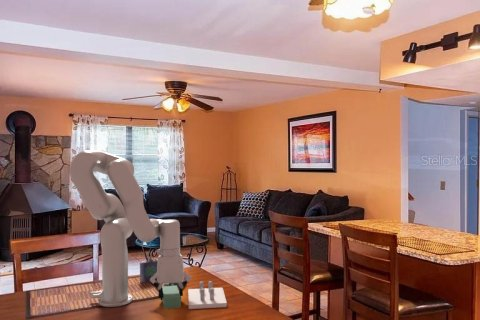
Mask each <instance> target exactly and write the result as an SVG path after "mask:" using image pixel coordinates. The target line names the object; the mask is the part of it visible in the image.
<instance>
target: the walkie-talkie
mask: <svg viewBox="0 0 480 320" xmlns="http://www.w3.org/2000/svg"><path fill="white" fill-rule="evenodd" d="M184 280H186V277H185V276H184ZM184 280H183V281H184ZM183 281H182V283H183ZM176 285H177V288H178V289H179V287H180V286H179V284H178V283H163V287H164V286H176ZM185 286H186V285H185ZM185 286H184V287H183V289H185Z"/></svg>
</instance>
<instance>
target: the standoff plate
mask: <svg viewBox="0 0 480 320" xmlns="http://www.w3.org/2000/svg"><path fill="white" fill-rule="evenodd" d="M198 283H199V288H188V291H187V293H188V294H187V295H188V296H187V297H188V310H192V309H196V310H197V309H212V308H214V309H216V308H227V307H228V306H227V305H228V302H227V299H226V296H225V292H224V288H223V287H213V280H212V281H211V280H210V281H208V288H206V287H205V288H204V281H199V282H198Z"/></svg>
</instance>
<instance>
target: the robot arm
mask: <svg viewBox="0 0 480 320" xmlns="http://www.w3.org/2000/svg"><path fill="white" fill-rule="evenodd" d="M95 172H97V173H101V174H104V175H107V177H108V179H109V181H110V183H111V184H112V186H113V188H114V190H115V191H116V193H117V195H118V197H119V198H118V197H117V196H116V195H115V194H113V193H106V191H105V189H104V188H103V185H102V184H101V182H100V180H98V178H97V177H96V176H95ZM134 173H135V167H134V164H133V163H132V162H131V161H130V160H128V159H126V158H123V157H120V156H117V155H113V154H111V153H108V152H105V151H102V150H96V149H95V150H94V149H85V150H81V151H80V152H78V153H77V154H76V155H74V157H73V158H72V161H71V163H70V165H69V175H70V176H69V177H70V179H71V181H72V184H73V185H74V187H75V188H76V190H77V192H78V193H79V195H80V198H81V200H82V201H83V203H84V205H85V207H86V208H87V210H88V212H89V214H90V215H91V216H92V218H93V219H95V220H98V221H102V220H103V221H104V224H103V226H102V227H101V230H100V233H99V239H100V241H99V242H100V246H101V263H102V264H101V273H102V274H101V277H102V279H101V281H102V282H101V283H102V289H100V290H99V291H95V290H94V291H90V297H91V298H93V299H98V301H97V303H98V305H99V306H102V307H105V308H106V307H107V308H109V307H110V308H113V307H114V308H115V307H121V306H125V305H128V304H130V303H132V301H133V295H131V294H129V259H128V258H129V257H128V256H129V254H128V253H129V252H128V246H127V239H128V238H130V237H131V236H132V234H134V235H135V237H136V238H137V239H138V240H139V241H141V242H143V243H150V242H153V240H155V239H157V238H159V239H160V241H159V243H160V244H159V245H160V246H159V247H160V248H158V249H156V254H159V255H158V257H157V258H158V263H157V272H156V273H155V274H154V275H153V276H152V277H151V278H150V281H151V282H150V283H152V284H153V286H155V288H156V289H157V290H158V298H160V301H163V300H162V299H163V288H162V287H163V286H164V283H178V284H179V286H180V287H179V288H178V290H179V293H180V296H181V297H183V296H184V295H183V293H184V288H185V287H184V286H186V285H187V284H188V283H189V282H190V281H191V280H192V276H191V275H190V274H189V273H187V272H186V271H185V269H184V267H185V265H184V259H183V255H182V254H181V228H180V227H181V224H180V221H179V220H177V219H157V218H150V217H149V216H148V214H147V210H146V209H145V206H144V205H145V204H144V192H143V190H142V188H141V186H140V184H139V183H138V181H137V179H136V177H135V175H134ZM184 276H185V277H186V280H184ZM156 277H157V281H155V278H156ZM183 280H184V281H183ZM182 281H183V283H182ZM183 287H184V288H183Z"/></svg>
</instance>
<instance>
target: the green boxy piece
mask: <svg viewBox="0 0 480 320" xmlns="http://www.w3.org/2000/svg"><path fill="white" fill-rule="evenodd" d="M162 288H163V299H162V300H161V301H162V304H163V308H164V309H174V308H175V309H176V308H181V307H182V305H181V304H182V303H181V301H182V300H181V299H182V296H180V293H179V288H177V285H176V286H164V285H163V286H162Z"/></svg>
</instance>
